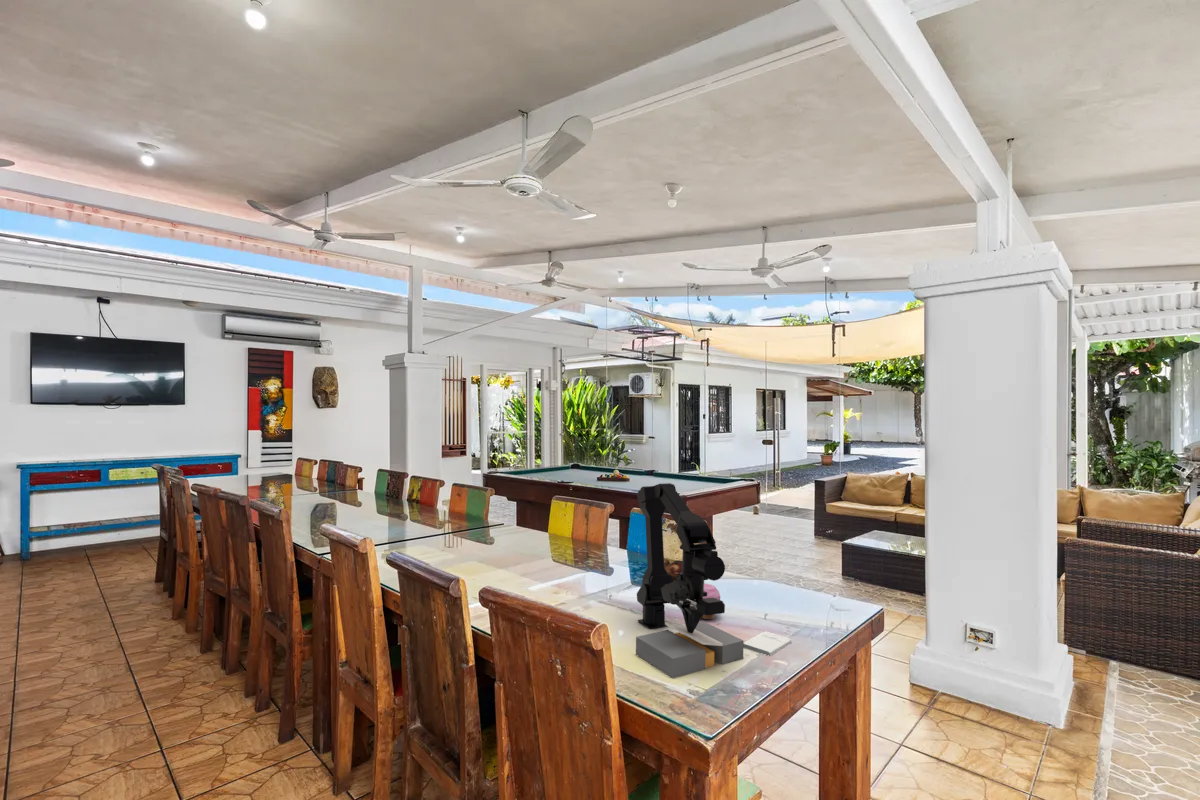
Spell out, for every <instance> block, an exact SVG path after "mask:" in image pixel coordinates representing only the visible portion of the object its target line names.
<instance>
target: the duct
mask: <svg viewBox="0 0 1200 800" xmlns="http://www.w3.org/2000/svg"><path fill="white" fill-rule="evenodd" d="M695 630H697V631H699V632H701V633H703V634H705V635H707V636H709V637H711V638H713V639H715V640H717V641H719V642H721V643H723V645H722V646H715V645H703V644H701V643H699V642H698V643H699V644H701V645H703V646H705V647H707V648H708V649H710V650H712V651H714V661H716V662H717V663H720V664H721V665H724V664H725V665H726V664H728V663H731V662H736V661H739V660H742V659H744V648H743V644H744V642H745V641H744V640H743V639H741V638H739V637H737V636H735V635H733V634H731V633H729V632H727V631H726V630H725V631H724V630H723V629H721V628H719V627H717V626H714V625H712V624H710V623H708V622H706V621H699V623H698V624H697V626H696V628H695ZM675 633H676V632H673V631H670V630H669V629H665V630H661V631H660V630H659V631H656V632H652V633H647V634H642V635H637V636H636V637H635V655H636V656H637V655H638V656H637V657H639V658H641V659H642V660H643V661H645V662H647V663H648V664H650V665H651V664H652V665H651V666H653V667H655V668H656V669H658V670H659V671H661V672H662V673H664V674H666V675H667V676H668V677H670V678H672V679H674V678H677V677H681V676H685V675H688V674H692V673H695V672H701V671H703V670H706V667H705V662H706V650H704V649H702V648H700V647H699V646H697V645H695V644H693V643H691V642H689V641H688V640H686V639H684V638H682V637H680V636H678V635H676V634H675ZM685 636H686V635H685ZM687 637H688V636H687ZM690 639H691V638H690ZM692 640H693V639H692ZM694 641H695V640H694ZM696 642H697V641H696Z"/></svg>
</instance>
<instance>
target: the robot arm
mask: <svg viewBox="0 0 1200 800" xmlns="http://www.w3.org/2000/svg"><path fill="white" fill-rule="evenodd" d="M636 497H637V501H638V506H639V509H640V511H641V513H642V514H643V516H644V518H645V538H646V539H645V540H646V543H645V544H646V559H647V561H646V562H647V563H646V564H647V568H646V570H645V572H644V574H643V576H642V581H641V586H640V587H639V589H638V591H637V592H636V599H637V600H636V601H637V602H638V603H639V604H640V605H642V619H638V621H637V622H638V623H639V624H641V625H643V626H645V627H646V628H648V629H651V630H653V629H657V628H660V627H665V626H667V625H665V622H666V620H665V619H666V618H665V617H666V616H665V615H666V613H665V612H666V611H665V604H670V605H676V606H677V607H678V609H679V610H681V613H682V615H683V619H684V624H685V625H686V627H687V631H688V632H689V633H693V632H694V630H695V628H696V626H697V624H698V623H699V622H701V617H702V616H703V614H704V615H714V616H715V615H719V614H720V615H721V614H725V612H726V604H725V603H724V601H723V600H721V599H720V600H718V599H716V598H705V599H704V598H703V597H705V596H707V592H705V591H704V583H705V581H708V580H710V581H712V582H713V581H718V580H720V579H721V578H722V577H723V575H724V574H725V571H726V564H725V562H724V561H723V559H722V558H721V557H719V555H718V554H719V553H718V551H717V545H716V542H717V541H716V540H715V538H714V536H713V534H712V531H711V528H710V526H709V524H708V522H706V520H705V519H704V518H702V516H700V515H698V514H695V513H694V512H692V510H691V509H690V508H689V507H688V505H687V503H685V501H684V500H683V498H682V497H681V495H680V494H679V492H678V491H677V489H676V485H675V484H674V483H670V482H669V483H668V482H667V483H665V482H663V483H658V484H655V485H651V486H647V485H646V486H644V485H643V486H641V487H640V489H639V490H638V492H637V494H636ZM666 510H667V512H668V513H669V515H670V516H671V518H672V519H673V521H674V522H675V525H676V529H675V533H676V535H677V536H678V537H677V538H678V539H679V541H680V543H681V545H680V546H679V550H680V549H681V550H682V558H681V559H682V560H681V561H682V573H678V575H677V580H674V581H673V582H672V577H671V575H670V574H668V573H667V571H666V570H665V567H664V559H665V552H664V534H663V533H664V531H663V516H664V514H665V512H666ZM695 599H696V600H695Z"/></svg>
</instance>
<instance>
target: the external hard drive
mask: <svg viewBox="0 0 1200 800" xmlns="http://www.w3.org/2000/svg"><path fill="white" fill-rule="evenodd" d="M792 641H793V640H792V638H789V637H786V636H783V635H779V634H775V633H772V632H769V631H766V630H765V631H762V632H761V633H758V634H757V635H755V636H753V637H751V638H749V639H748V640H746V641H744V644H743V649H746V650H749V651H753V652H755V653H759V654H761V653H762V655H764V654H766V655H765V656H768V655H769V656H768V657H772V656H773V655H775V654H776V653H778V652H779V651H781V650H782V649H784V648H785V646H786V647H787V646H788V644H789V645H790V644H792V643H791V642H792ZM780 649H781V650H780ZM777 651H778V652H777ZM774 653H775V654H774Z"/></svg>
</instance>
